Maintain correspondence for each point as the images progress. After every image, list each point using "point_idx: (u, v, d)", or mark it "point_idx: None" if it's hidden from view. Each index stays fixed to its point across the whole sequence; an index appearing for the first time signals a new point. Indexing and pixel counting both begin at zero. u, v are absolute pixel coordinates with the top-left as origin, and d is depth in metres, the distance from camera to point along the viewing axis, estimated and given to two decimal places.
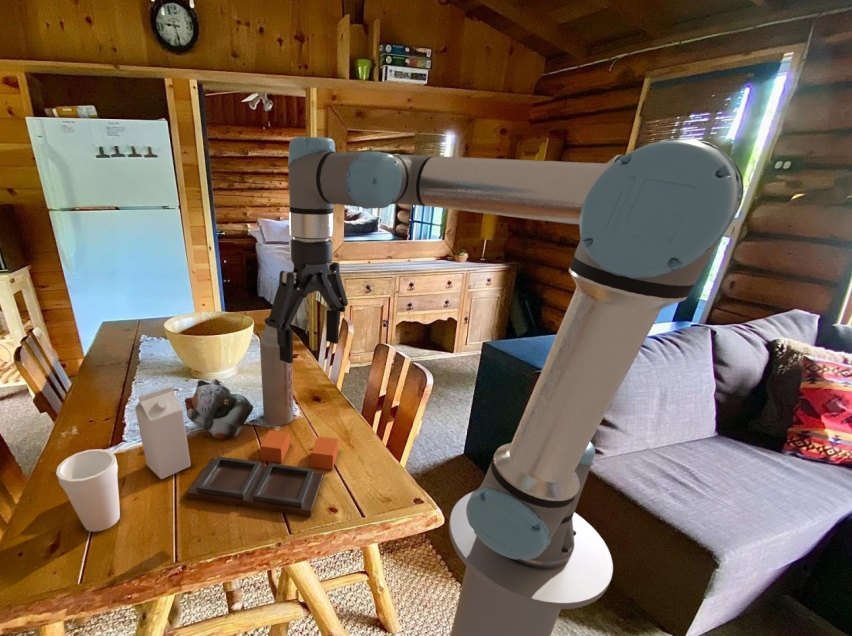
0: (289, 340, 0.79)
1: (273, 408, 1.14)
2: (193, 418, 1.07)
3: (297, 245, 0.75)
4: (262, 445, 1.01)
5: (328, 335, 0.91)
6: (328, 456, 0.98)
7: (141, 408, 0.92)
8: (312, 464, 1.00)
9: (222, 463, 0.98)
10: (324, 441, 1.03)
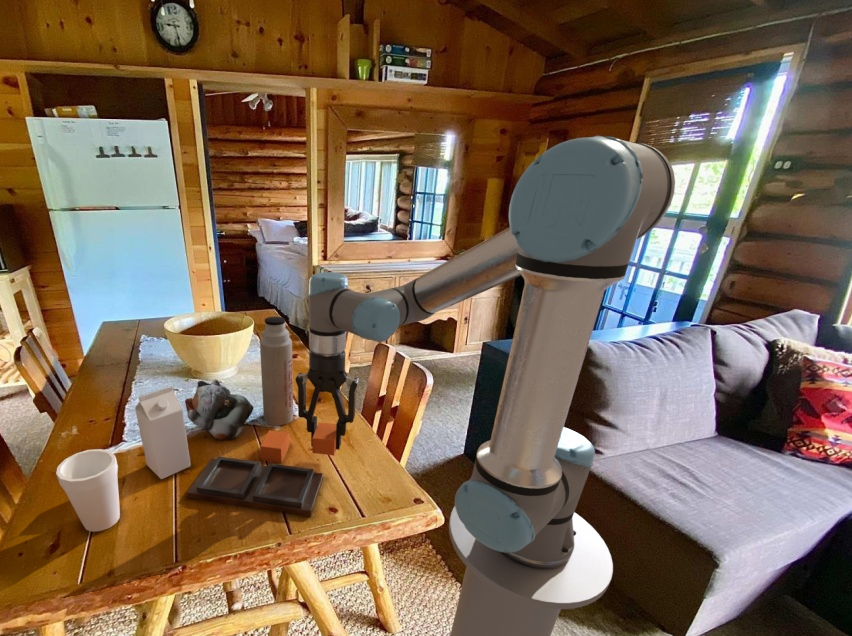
0: (311, 429, 0.98)
1: (273, 408, 1.14)
2: (193, 419, 1.06)
3: (309, 352, 0.91)
4: (262, 445, 1.01)
5: None
6: (329, 441, 0.96)
7: (141, 408, 0.92)
8: (313, 450, 0.98)
9: (222, 463, 0.98)
10: (325, 427, 1.01)
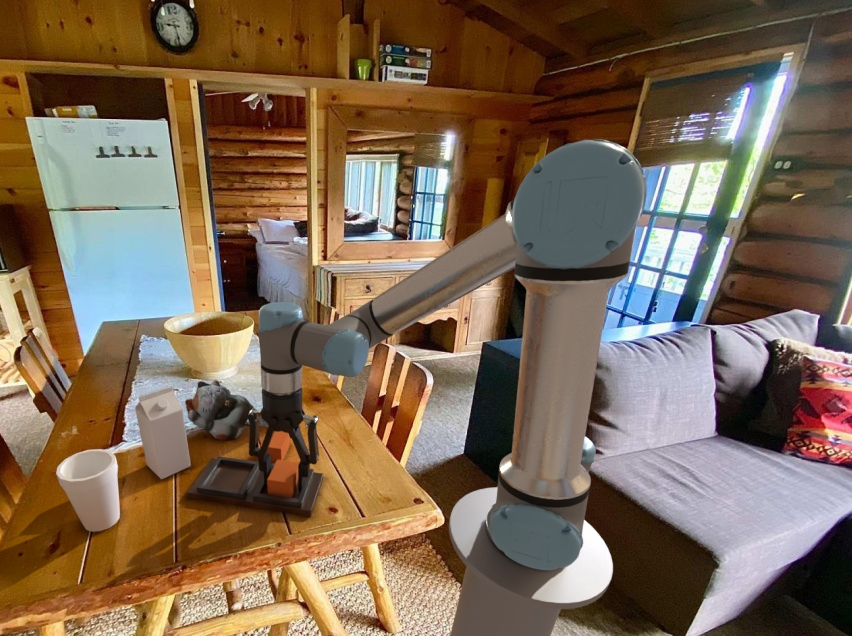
0: (263, 468, 0.89)
1: None
2: (194, 419, 1.06)
3: (262, 388, 0.82)
4: None
5: None
6: (285, 483, 0.87)
7: (141, 408, 0.92)
8: (269, 492, 0.89)
9: (222, 463, 0.98)
10: (283, 465, 0.92)
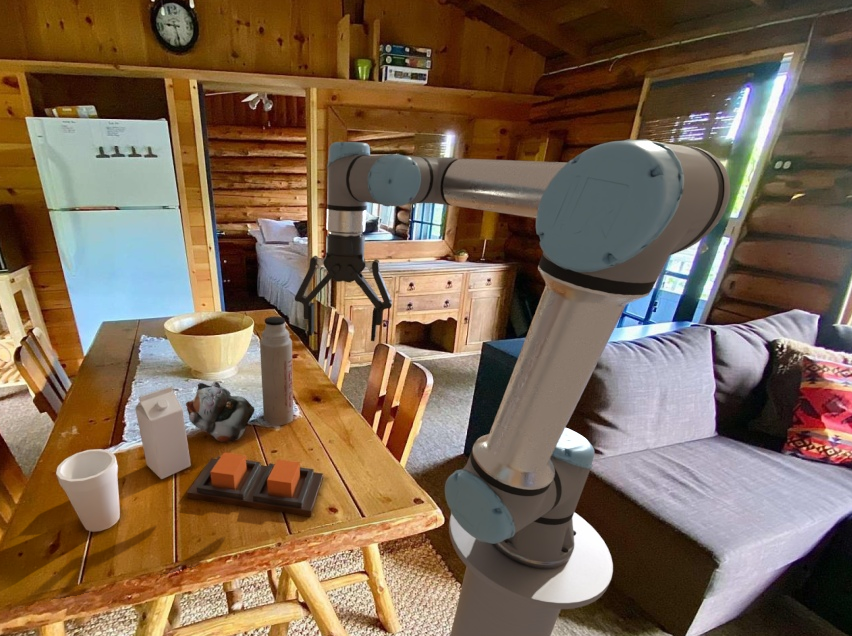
0: (308, 315, 0.93)
1: (273, 408, 1.14)
2: (195, 422, 1.05)
3: None
4: (213, 471, 0.90)
5: None
6: (285, 483, 0.87)
7: (141, 408, 0.92)
8: (269, 492, 0.89)
9: None
10: (283, 465, 0.92)
